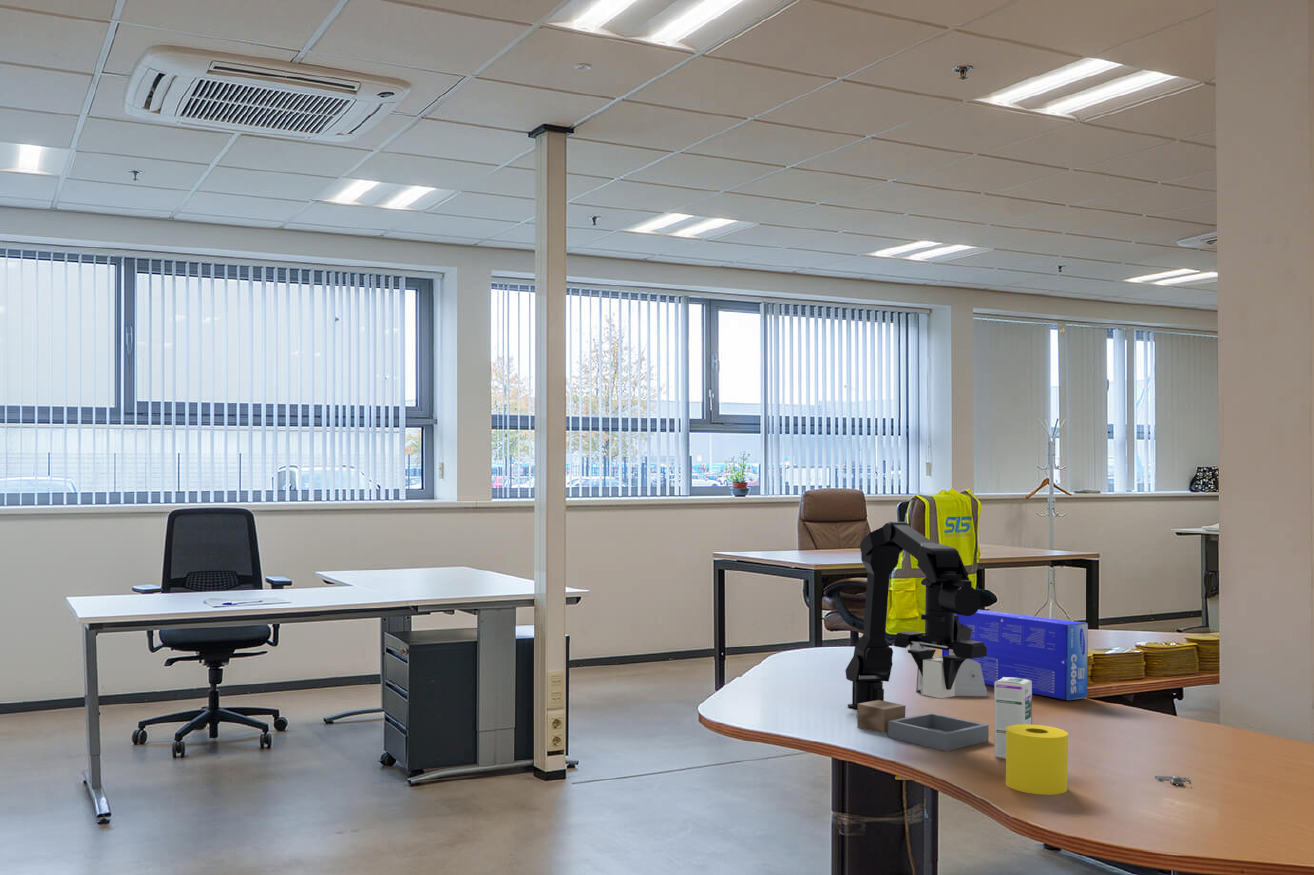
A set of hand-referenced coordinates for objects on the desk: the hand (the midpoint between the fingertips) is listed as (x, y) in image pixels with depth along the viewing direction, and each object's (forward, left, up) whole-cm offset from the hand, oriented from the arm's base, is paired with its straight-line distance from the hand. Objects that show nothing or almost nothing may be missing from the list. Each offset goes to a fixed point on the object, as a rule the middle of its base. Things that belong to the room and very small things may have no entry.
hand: (938, 687), depth 226 cm
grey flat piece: (+41, +8, -11) cm, 43 cm away
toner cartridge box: (-24, +64, -11) cm, 69 cm away
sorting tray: (0, 0, -10) cm, 10 cm away
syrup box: (+17, 0, -11) cm, 20 cm away
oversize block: (-13, -1, -11) cm, 17 cm away
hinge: (-28, +44, -11) cm, 53 cm away
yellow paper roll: (+31, -15, -11) cm, 36 cm away
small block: (0, 0, -2) cm, 2 cm away
